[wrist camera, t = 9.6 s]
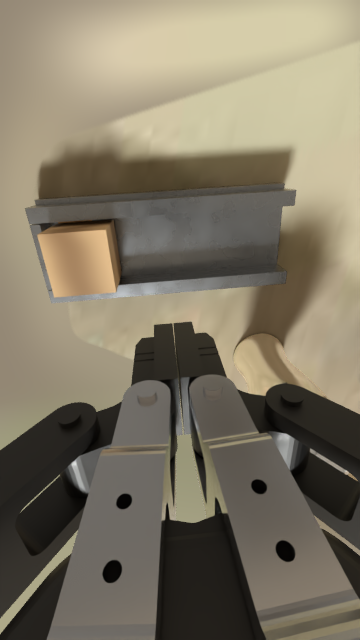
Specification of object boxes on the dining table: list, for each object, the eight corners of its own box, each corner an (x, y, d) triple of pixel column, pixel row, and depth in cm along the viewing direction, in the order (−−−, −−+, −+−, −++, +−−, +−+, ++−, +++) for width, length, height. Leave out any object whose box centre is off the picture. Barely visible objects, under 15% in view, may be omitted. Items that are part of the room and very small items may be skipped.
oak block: (113, 219, 26) (105, 229, 22) (121, 273, 29) (116, 292, 24) (56, 223, 26) (37, 234, 22) (69, 277, 28) (54, 297, 24)
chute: (280, 182, 27) (296, 184, 24) (271, 275, 32) (285, 287, 28) (38, 199, 26) (23, 203, 23) (62, 292, 30) (52, 307, 27)
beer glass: (296, 341, 36) (383, 443, 22) (265, 383, 38) (326, 498, 25) (248, 321, 34) (311, 419, 21) (219, 367, 36) (258, 481, 23)
